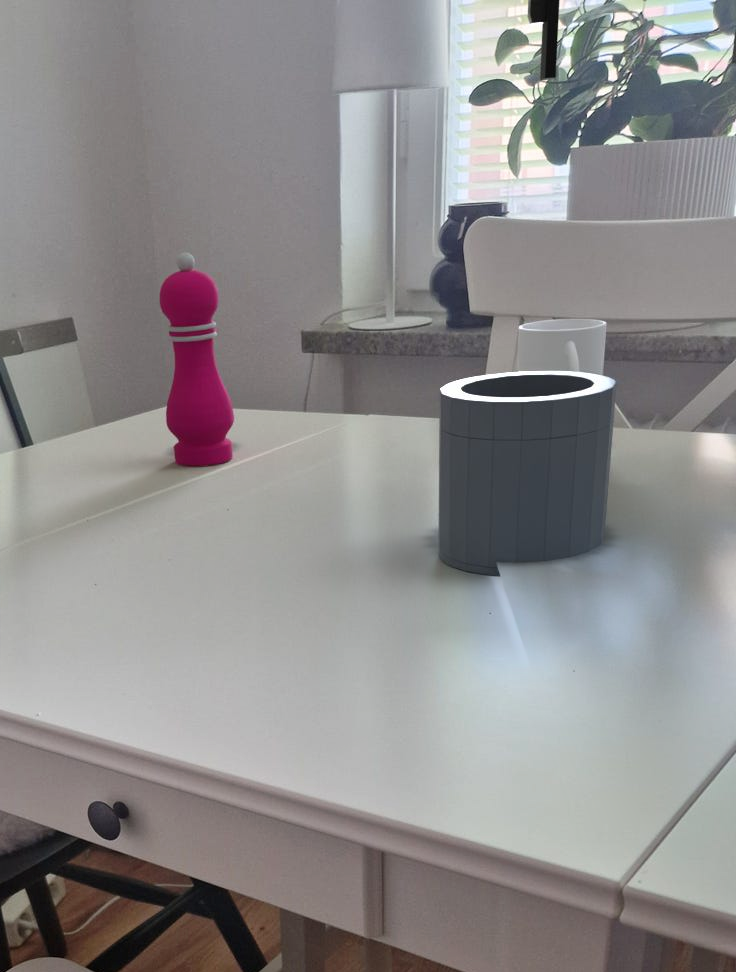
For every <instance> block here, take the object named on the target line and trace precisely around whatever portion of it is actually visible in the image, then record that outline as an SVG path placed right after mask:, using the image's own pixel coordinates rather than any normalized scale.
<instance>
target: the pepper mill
mask: <svg viewBox="0 0 736 972" xmlns="http://www.w3.org/2000/svg"><path fill="white" fill-rule="evenodd" d="M176 266H177V268H178V269H179V271H175V272H173V273H171V274H170V275H168V276H167V277H166V278H165V279H164V281H163V282H162V284H161V286H160V289H159V308H160V310H161V312H162V314H163V315H164V316H165V317H166V318H167V320H168V321H169V323H170V324H169V325H168V326H167V327H166V329H167V331H168V337H167V339H168V341H170V342H172V348H173V353H174V370H173V379H172V383H171V386H170V390H169V394H168V397H167V402H166V409H165V419H166V420H165V423H166V427H167V428H168V431H169V432H170V433H171V434H172V436H174V437H175V438H176V440H177V443H175V444H174V445H173V453H174V462H175V464H177V465H178V466H183V467H208V466H215V465H220V464H224V463H227V462H229V461H231V460H232V459H233V457H234V455H233V454H234V452H233V443H232V440H231V439H229V438H227V435H228V433H229V432H230V430H231V429H232V427H233V425H234V422H235V411H234V407H233V404H232V400H231V397H230V395H229V393H228V390H227V389H226V386H225V385H224V382H223V380H222V377H221V375H220V373H219V370H218V366H217V363H216V358H215V350H214V348H215V347H214V338H216V337H217V336H218V333H217V331H216V328H215V327H216V326H217V323H216V322H215V321H214V320H213V317H214V315H215V313H216V312H217V310H218V307H219V303H220V302H219V301H220V297H219V290H218V287H217V285H216V282H215V281H214V279H213V278H212V277H211V276H209V274H207V273H206V272H203V271H201V270H197V269H194V268H195V257H194V256H193V255H192V254H191V253H189V252H182V253H180V254H179V255H178V257H177V258H176Z"/></svg>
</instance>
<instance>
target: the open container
mask: <svg viewBox="0 0 736 972" xmlns="http://www.w3.org/2000/svg"><path fill="white" fill-rule="evenodd" d="M617 384H618V383H617V381H615V379H613V378H612V377H610V376H605V375H603V376H602V375H597V374H590V373H582V372H566V371H530V372H529V371H528V372H517V371H514V372H512V371H511V372H502V373H491V374H484V375H477V376H472V377H467V378H462V379H459V380H455V381H452V382H449V383H446V384H445V385H444V386H442V387H440V389H439V414H438V416H439V422H438V424H439V427H438V428H439V429H438V430H439V431H438V531H437V533H438V538H437V539H438V541H437V543H438V556H439V559H440V560H441V561H442V562H443V563H445V564H446V565H448V566H450V567H452V568H455V569H458V570H461V571H465V572H468V573H473V574H480V575H487V576H495V577H497V576H499V577H500V576H501V573H500V570H499V567H498V564H497V562H499V563H533V562H547V561H554V560H561V559H566V558H567V559H568V558H571V557H576V556H579V555H582V554H585V553H589V552H590V551H592V550H595V549H597V548H598V547H600V546H601V545H602V544H603V541H604V539H605V533H606V521H607V520H606V518H607V510H608V509H607V507H608V495H609V484H610V473H611V472H610V471H611V460H612V459H611V458H612V449H613V448H612V447H613V433H614V422H615V421H614V420H615V410H616V409H615V407H616V399H617V398H616V397H617V386H618V385H617Z"/></svg>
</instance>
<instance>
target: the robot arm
mask: <svg viewBox="0 0 736 972" xmlns="http://www.w3.org/2000/svg"><path fill="white" fill-rule="evenodd" d="M527 1H528V2H527V19H528V23H529V26H533V25H534V26H536V25H542V26H541V27H542V29H541V31H542V32H541V49H540V69H539V70H540V71H539V72H540V74H539V81H542V82H543V81H550V80H553V79H555V78H556V76H557V59H558V38H559V22H560V21H559V18H560V0H527ZM731 64H736V28H735V30H734V37H733V47H732V57H731Z"/></svg>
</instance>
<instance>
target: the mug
mask: <svg viewBox="0 0 736 972" xmlns="http://www.w3.org/2000/svg"><path fill="white" fill-rule="evenodd" d="M607 324H608V323H607V322H606V321H604V320H602V319H601V320H600V319H594V318H593V319H592V318H559V319H546V320H538V321H533V322H527V323H524V324H521V325H519V326H518V330H517V331H518V332H517V354H516V355H517V357H516V358H517V359H516V372H528V371H529V372H530V371H566V372H582V373H590V374H597V375H602V376H604V366H605V365H604V363H605V354H606V353H605V351H606V339H607V338H606V336H607V327H608V326H607Z"/></svg>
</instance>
